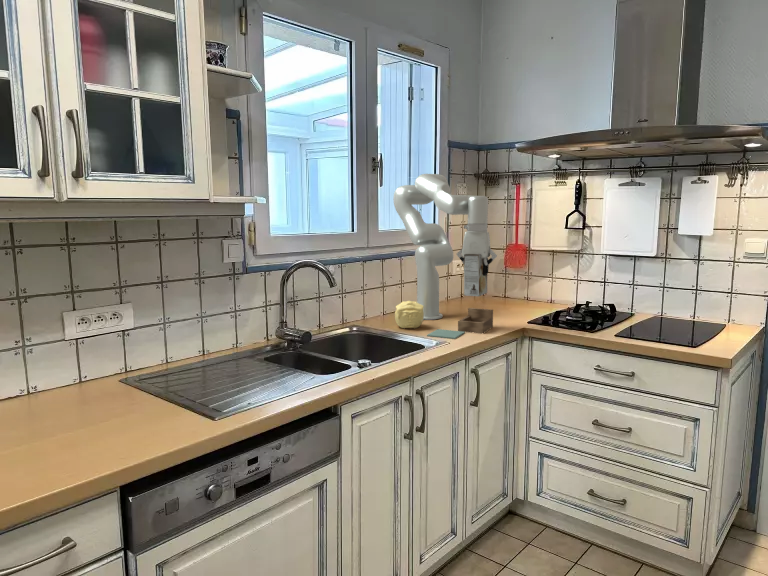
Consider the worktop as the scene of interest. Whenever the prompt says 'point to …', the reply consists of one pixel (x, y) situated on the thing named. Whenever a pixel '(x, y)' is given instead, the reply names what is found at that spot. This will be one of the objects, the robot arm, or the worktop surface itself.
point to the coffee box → (474, 275)
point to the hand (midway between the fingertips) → (475, 274)
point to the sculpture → (409, 314)
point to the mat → (446, 334)
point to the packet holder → (476, 321)
